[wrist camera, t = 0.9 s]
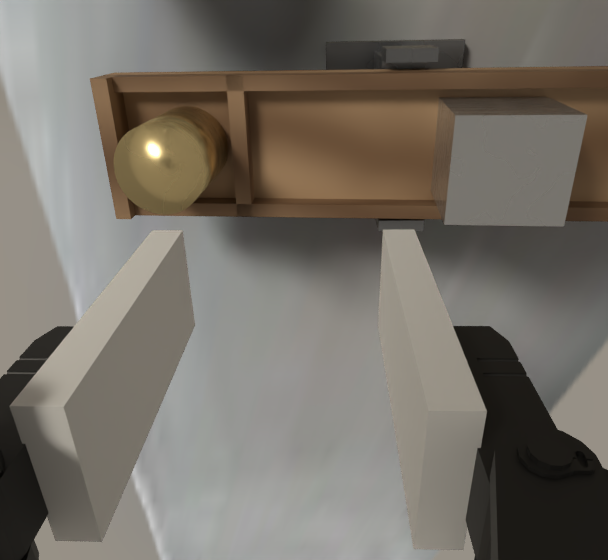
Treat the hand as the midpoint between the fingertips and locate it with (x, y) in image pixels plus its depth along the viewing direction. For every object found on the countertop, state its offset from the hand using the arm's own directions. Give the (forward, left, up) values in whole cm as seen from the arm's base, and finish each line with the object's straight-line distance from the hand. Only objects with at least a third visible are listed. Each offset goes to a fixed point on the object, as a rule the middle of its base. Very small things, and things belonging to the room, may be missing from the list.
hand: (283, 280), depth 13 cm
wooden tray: (0, +5, -16) cm, 17 cm away
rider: (0, +9, -15) cm, 17 cm away
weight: (0, -6, -16) cm, 17 cm away
